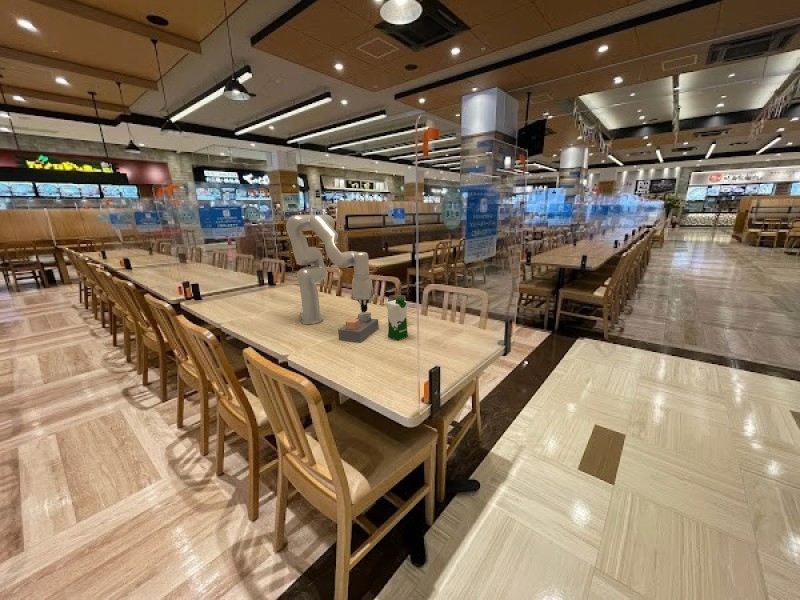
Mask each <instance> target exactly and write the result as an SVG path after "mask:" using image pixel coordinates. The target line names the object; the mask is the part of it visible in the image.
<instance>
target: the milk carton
mask: <svg viewBox="0 0 800 600" xmlns="http://www.w3.org/2000/svg"><path fill="white" fill-rule="evenodd" d="M408 302H409V301H404V298H396V300H393V301H390V302H388V301H386V302H385V305H386V309H387V318H388V321H387V322H388V328H387V329H388V330H387V331H388V332H387V338H391V339H393V340H396V341H400V339H401V340H402V338H403V339H405V338H407V337H408V324H407V323H408V320H407V319H408V317H407V316H408V315H407V314H408V313H407V309H408V305H409V304H408ZM406 336H407V337H406ZM404 337H405V338H404Z"/></svg>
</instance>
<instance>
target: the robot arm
mask: <svg viewBox="0 0 800 600" xmlns="http://www.w3.org/2000/svg"><path fill="white" fill-rule="evenodd" d="M335 222H336V221H335V219H334V218H333V216H332V215H330V214H295V215H291V216H290V217H289V218H288V219H287V221H286V225H285V226H286V229H285V230H286V232H287V235H288V237H289V241H290V243H291V248H292V252H293V256H294V260H295V262H296V263H297V264H298V265H299V266H306V267H303V268H301V269H299V270H298V271H297V273H296V279H297V281H298V282H297V283H298V286H299V290H300V297H301V298H300V300H301V305H302V307H301V309H302V312H300V313H299V315H298V317H299V318H301V320H300V322H301V324H303V325H317V324H320V323H322V322H323V321H324V317H323V316H321V308H320V300H319V299H320V298H319V297H320V296H319V291H318V288H317V286H316V285H315V283H318V282H322V281H324V280H325V279H326V277H327V272H326V271H327V270H326V266H325V262H324V257H323V254H322V251H321V250H320V248H318V247H316V246H309V244H308V239H307V238H306V236H305V235H304V234H303V232H306V231H307V232H308V231H313V232H314V233H315V234H316V235H317V236H318V238H319V239H320V240H321V241H322V243H324V250H325V254H326V255H327V257H328V259H329V260H330V261H331V262H332V263H333V264H334V265H335V266H336V267H337V268H339V269H344V268H348V267H353V271H354V272H353V274H352V277H354V279H353V280H352V298H353V300H354V301H357V302H358V304H359V305H360V310H361V312H368V304H369V303H370V302H374V287H373V282H372V280H371V278H370V264H369V263H370V262H369V261H370V260H369V254H368V252H365V251H354V250H350V251H343V252H341V251H340V250H339V248H338V247H337V246H336V244H335V242H337V241H338V239H339V233H338V232H337V231H336V230H335V229H334V228H335V227H336V226H335V224H336V223H335ZM308 265H310V266H308Z"/></svg>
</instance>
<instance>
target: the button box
mask: <svg viewBox="0 0 800 600" xmlns="http://www.w3.org/2000/svg"><path fill="white" fill-rule="evenodd" d="M355 319H358V317H357V318H355ZM379 325H380V324H379V319H378V318H371V320H370V321H369V322H367V323H364V322H360V328H358V329H357V330H355V331H354V330H346V324H345V325H343V326H341V327H340V328H338V329H337V330H338V331H337V332H338V341H343V340H345V341H344V342H350V341H352V343H357V342H358V343H359V344H361V343H362V342H365V340H366V339H368V338H369V337H371V336H372V335H373V334H375V332H377V331H378V330H379V329H380V328H379Z"/></svg>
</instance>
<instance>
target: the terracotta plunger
mask: <svg viewBox="0 0 800 600" xmlns="http://www.w3.org/2000/svg"><path fill="white" fill-rule="evenodd" d="M344 323H345V325H346V330H354V331H355V330H357V329H358V328H360V320H359V319H356V318H349V319H346V321H345V322H344Z"/></svg>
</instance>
